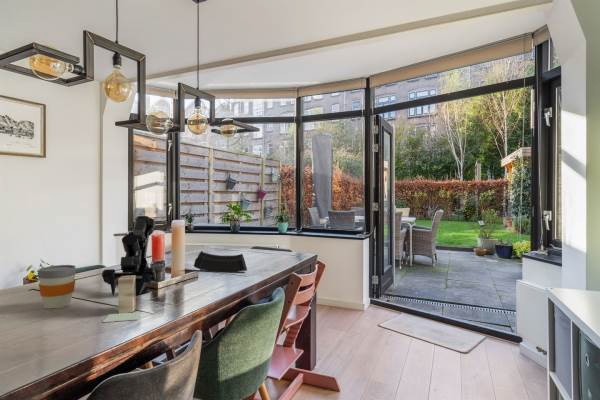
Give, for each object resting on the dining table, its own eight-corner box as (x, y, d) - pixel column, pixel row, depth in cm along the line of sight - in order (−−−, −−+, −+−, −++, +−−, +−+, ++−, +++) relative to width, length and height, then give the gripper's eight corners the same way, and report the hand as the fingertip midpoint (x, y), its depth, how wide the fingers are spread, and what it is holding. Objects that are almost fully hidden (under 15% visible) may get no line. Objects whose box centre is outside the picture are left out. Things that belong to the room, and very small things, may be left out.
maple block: (121, 309, 136) (121, 276, 136) (135, 308, 137) (135, 275, 137) (118, 313, 131) (118, 279, 131) (132, 312, 132) (132, 278, 132)
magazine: (251, 256, 202) (203, 239, 206) (249, 257, 199) (200, 240, 203) (242, 284, 203) (194, 267, 207) (241, 286, 200) (192, 268, 204)
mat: (108, 315, 129) (108, 314, 129) (141, 312, 132) (141, 311, 132) (102, 322, 121) (102, 321, 121) (136, 320, 124) (136, 319, 124)
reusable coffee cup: (33, 312, 132) (33, 272, 131) (43, 302, 143) (42, 266, 143) (73, 308, 137) (72, 269, 136) (78, 299, 148) (78, 263, 148)
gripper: (103, 248, 135) (94, 284, 125) (154, 247, 140) (150, 281, 129) (108, 265, 143) (100, 299, 132) (157, 263, 148) (153, 296, 137)
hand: (126, 294), depth 133 cm, fingers open, 9 cm apart
